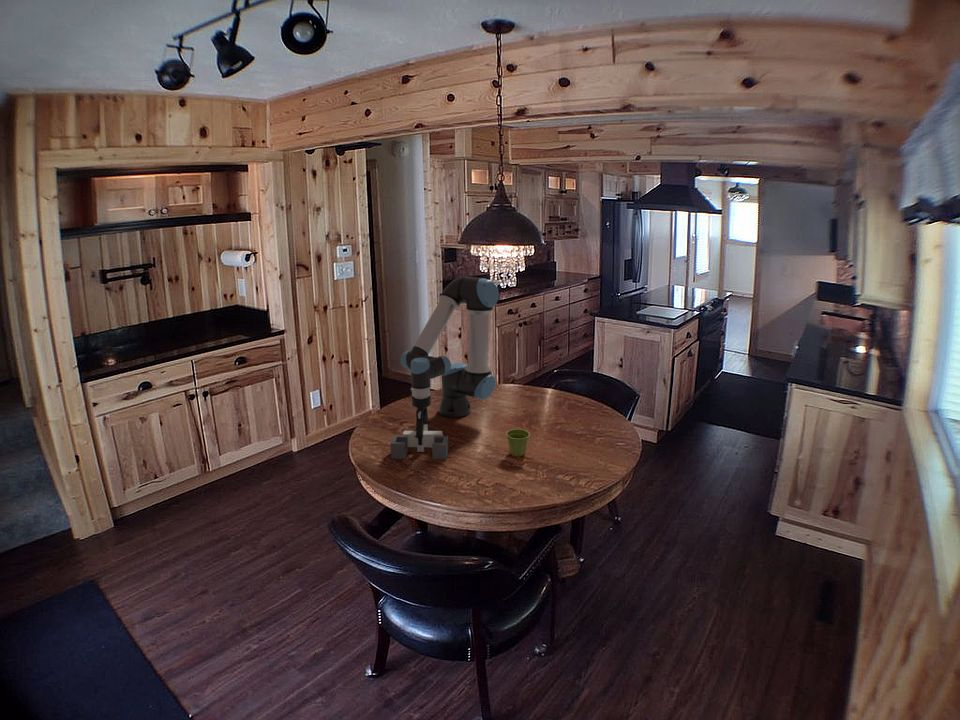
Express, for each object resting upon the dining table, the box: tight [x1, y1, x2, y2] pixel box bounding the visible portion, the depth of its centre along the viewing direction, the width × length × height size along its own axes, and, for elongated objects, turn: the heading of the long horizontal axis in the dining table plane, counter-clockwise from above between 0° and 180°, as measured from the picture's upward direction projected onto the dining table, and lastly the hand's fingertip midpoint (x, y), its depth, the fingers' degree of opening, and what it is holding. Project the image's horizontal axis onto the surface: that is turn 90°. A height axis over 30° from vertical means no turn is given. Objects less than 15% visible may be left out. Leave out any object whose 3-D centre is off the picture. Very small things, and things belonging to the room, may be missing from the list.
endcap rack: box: [390, 434, 449, 460], centre depth 238 cm, size 22×8×6 cm, turn 87°
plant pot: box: [505, 428, 531, 457], centre depth 238 cm, size 9×9×9 cm
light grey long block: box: [402, 430, 443, 448], centre depth 246 cm, size 16×4×6 cm, turn 89°
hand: (422, 444), depth 247 cm, fingers open, 11 cm apart
